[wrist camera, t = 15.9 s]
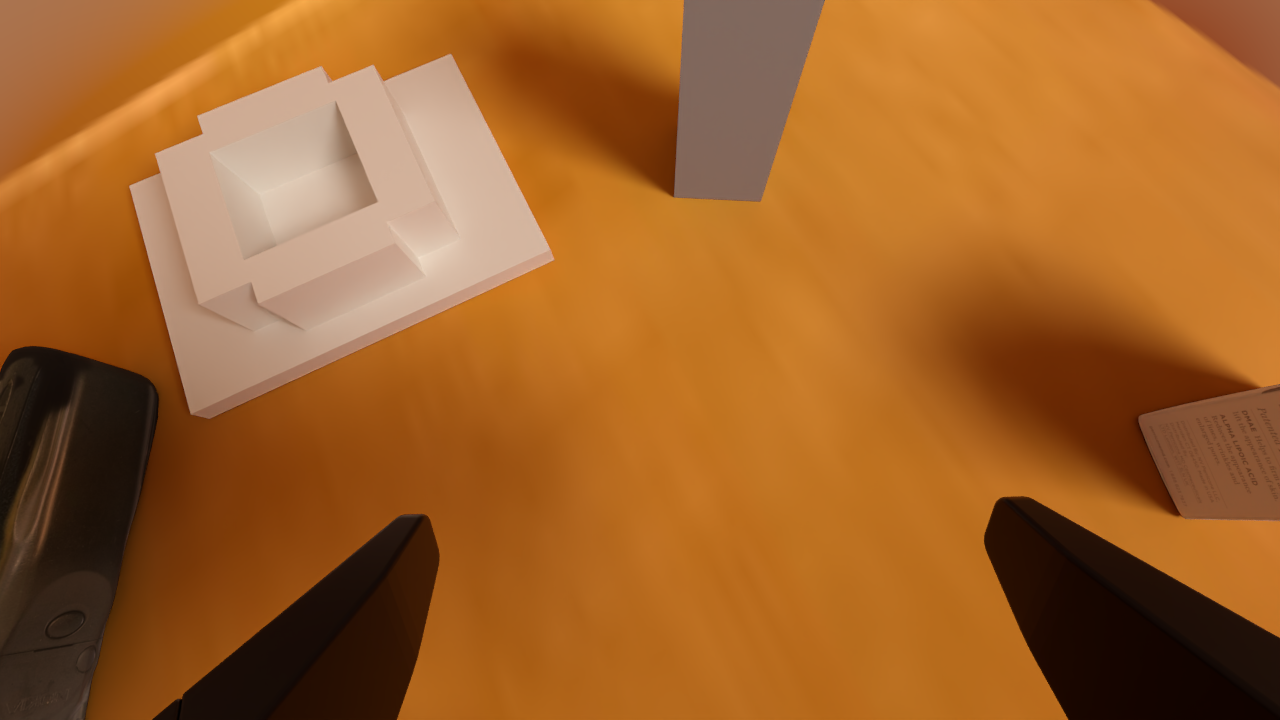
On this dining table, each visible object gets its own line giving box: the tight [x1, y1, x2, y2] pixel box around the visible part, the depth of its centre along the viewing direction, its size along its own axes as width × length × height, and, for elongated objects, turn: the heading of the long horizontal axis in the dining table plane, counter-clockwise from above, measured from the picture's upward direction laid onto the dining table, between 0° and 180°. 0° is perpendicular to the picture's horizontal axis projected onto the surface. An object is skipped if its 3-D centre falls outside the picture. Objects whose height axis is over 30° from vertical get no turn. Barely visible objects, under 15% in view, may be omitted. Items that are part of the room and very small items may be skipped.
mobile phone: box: [0, 346, 159, 720], centre depth 20 cm, size 5×3×15 cm
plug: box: [674, 0, 825, 201], centre depth 20 cm, size 4×4×13 cm
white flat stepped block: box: [129, 54, 554, 419], centre depth 24 cm, size 16×12×4 cm
